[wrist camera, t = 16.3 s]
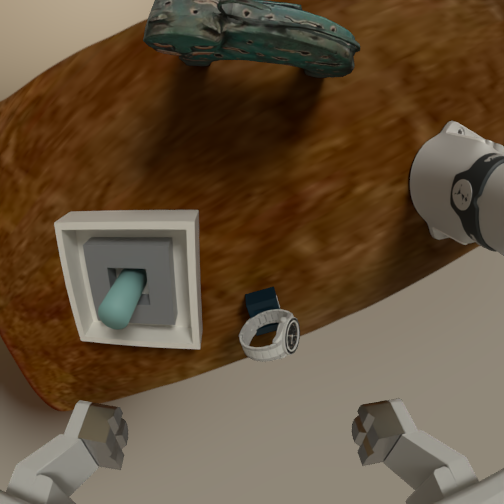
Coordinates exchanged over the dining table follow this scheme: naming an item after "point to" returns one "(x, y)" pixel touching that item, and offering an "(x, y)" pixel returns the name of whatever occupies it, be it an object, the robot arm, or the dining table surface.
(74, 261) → the open box
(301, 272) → the dining table surface
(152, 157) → the dining table surface
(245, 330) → the watch
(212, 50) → the ceramic cat
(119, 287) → the peg
